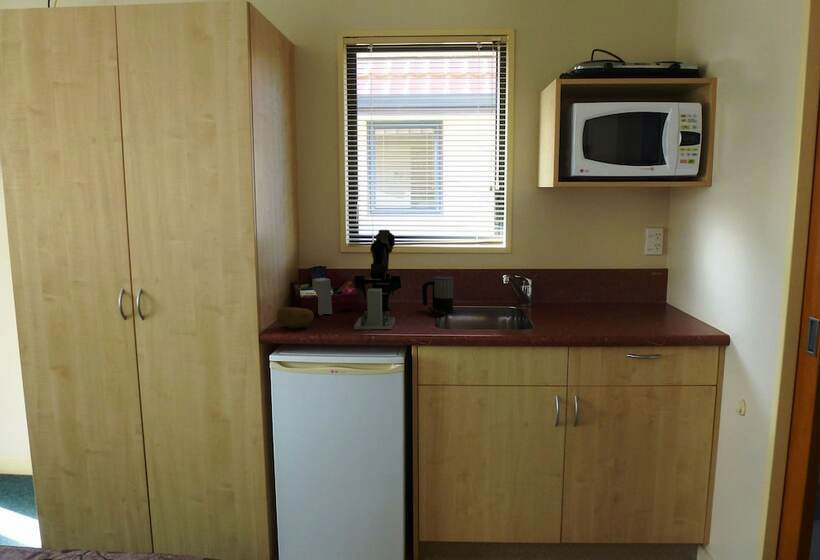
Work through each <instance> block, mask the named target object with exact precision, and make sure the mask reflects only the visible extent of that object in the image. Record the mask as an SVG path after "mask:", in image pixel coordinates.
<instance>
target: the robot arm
mask: <svg viewBox="0 0 820 560" xmlns="http://www.w3.org/2000/svg"><path fill="white" fill-rule="evenodd" d="M395 240H396V239H395V235H394V234H393V233H391V231H390V230H389V229H379V230H378V232H377V233H376V235H375V240H374V241H373V243H371V245H370V253H371V257H372V263H371V264H370V278H369V277H367V278H366V276H365V274H364V275H363V274H355V276H354V279H353V282H354V286H355V288H356V289H358V290H360V291H361V292H362V295H363V299H364V300H366V301H367V288H366V285H368V284H370V285H371V284H372V286H371V287H372V288H371V289H382V311H391V306H390V298H391V297H392V296H394V293H395V292H396V291H398V290H399V289H401V288H402V286H403V285H402V284H403V283H402V276H401V275H400V274H399V275H390V273H389V263H390V262H389V261H390V254H391V253H392V252H393V251H392V249H393V250H394V247H395V246H394V245H396V243H395V242H396V241H395Z"/></svg>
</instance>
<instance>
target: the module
mask: <svg viewBox="0 0 820 560" xmlns="http://www.w3.org/2000/svg"><path fill="white" fill-rule="evenodd" d="M366 301H367V304H366V305H367V311H368V323H381V322H382V317H383V310H382V289H372V288H368V289H367V290H366Z"/></svg>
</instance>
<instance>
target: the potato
mask: <svg viewBox="0 0 820 560" xmlns="http://www.w3.org/2000/svg"><path fill="white" fill-rule="evenodd" d="M314 313H315V312H314V311H313V310H311V309H309V308H302V307H295V306H294V307H293V306H284V307H281V308H279V309H278V311H277V313H276V317H277V320H278V321H279V323H280V324H282V326H284V327H285V328H289V329H300V328H305V327H307V326H308V325H309V324H310V323H312V322H313V320H314V316H315V314H314Z"/></svg>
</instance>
